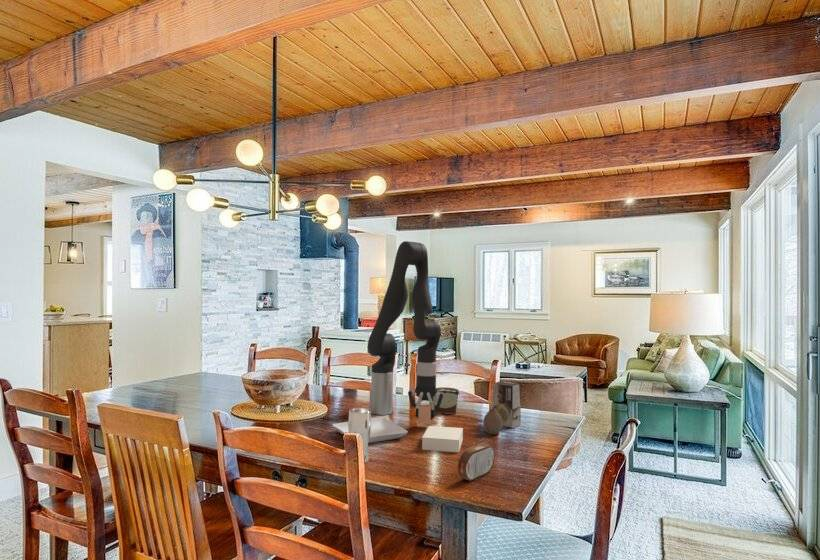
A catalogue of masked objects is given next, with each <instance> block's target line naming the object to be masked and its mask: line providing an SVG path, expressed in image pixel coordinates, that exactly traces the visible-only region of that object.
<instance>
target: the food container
mask: <svg viewBox="0 0 820 560" xmlns="http://www.w3.org/2000/svg"><path fill="white" fill-rule="evenodd" d="M436 389H437V391H438V392H443V393H444V395H443V398H442V401H441V405H440V407H439V408H438V409H435V414H441V413H445V415H450V414H451V415H456V414H457V408H458V397H459V396H460V391H459V389H457V388H454V387H449V386H447V387H446V386H445V387H444V386H441V387H436ZM433 399H434V404H435V405H437V402H438V399H439V398H438V397H437V394H436V395H435V396H434V397H433Z"/></svg>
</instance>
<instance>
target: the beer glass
mask: <svg viewBox="0 0 820 560" xmlns="http://www.w3.org/2000/svg"><path fill="white" fill-rule="evenodd" d="M371 419H372V413H371V410H370V409H369V408H365V407H354V408H350V409H349V411H348V421H347V422H348V430H349V433H359V434H360V435H361V436H362V439H363V446H364V457H365V462H364V463H368V462H369V461H370V454H369V444H370V443H369V438H370V432H371Z"/></svg>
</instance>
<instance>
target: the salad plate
mask: <svg viewBox="0 0 820 560" xmlns="http://www.w3.org/2000/svg"><path fill="white" fill-rule="evenodd" d="M332 427H333V429H335V430H336V431H337V432H338V433H340V434H342V435H343V434H344V433H345V432H349V430H348V421H344V422H338V423H337V422H336V423H332ZM407 434H408V430H406V429H405V428H404V427H401V426H400V425H398V424H396V423H395V422H393V421H392V420H390V419H388V418H387V417H383V416H382V417H381V416H380V417H375V418H371V432H370V438H369V443H368V444H371V443H378V442H379V443H380V442H383V441H384V442H387V441H391V440H396V439H400V438H402V437H404V436H406V435H407Z"/></svg>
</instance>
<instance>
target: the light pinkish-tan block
mask: <svg viewBox="0 0 820 560" xmlns="http://www.w3.org/2000/svg"><path fill="white" fill-rule="evenodd" d="M417 420H418V421H417V422H418V423H424V424H427V423H428V424H430V423H431V422H432V421H433V420H431V406H430V403H422V402H421V404H420V405H419V412H418V419H417Z"/></svg>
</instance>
